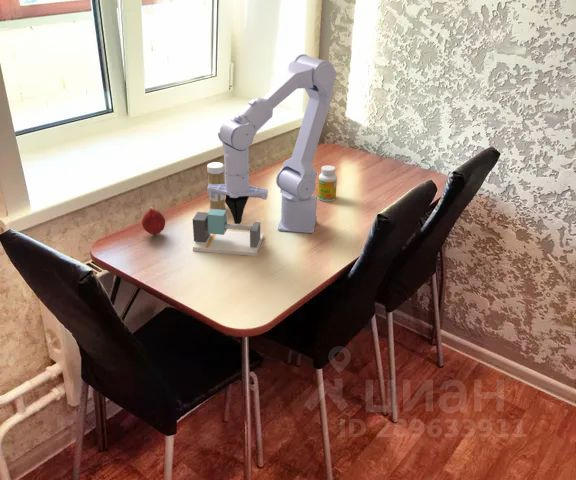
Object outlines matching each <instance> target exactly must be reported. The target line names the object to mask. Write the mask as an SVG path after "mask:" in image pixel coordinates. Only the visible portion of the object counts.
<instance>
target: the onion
mask: <svg viewBox="0 0 576 480" xmlns="http://www.w3.org/2000/svg"><path fill="white" fill-rule="evenodd" d="M141 225H142V228H143V230H144V231H145V232H147V233H148V234H150V235H152V236H157V235H158V234H160V233H161V232H162V231H163V230H164V228H165V226H166V218H165V216H164V215H163V214H162V213H161V212H160V210H157V209H155V208H154V207H153V206H150V207H149V210H147V211H146V213H144V214H143V216H142V219H141Z"/></svg>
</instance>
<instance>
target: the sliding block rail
mask: <svg viewBox="0 0 576 480" xmlns="http://www.w3.org/2000/svg"><path fill="white" fill-rule="evenodd" d="M208 213H209V212H205V211H204V212H203V211H197V212H196V213H195V215H194V216H193V218H192V229H193V230H192V231H193V242H195V243H194V244H193V246H192V251H194V252H203V253H205V252H206V253H214V254H216V253H217V254H225V255H239V256H246V257H247V256H248V257H257V255H258V253H259V251H260V248H261V245H262V243H263V241H264V237H265V235H264V233H261V222H260V221H253V223H252V225H246V224H245V225H244V224H235V223H227V224H224V228H226V229H228V230H226V232H225V234H224V235H219V234H208ZM235 230H236V231H235ZM238 230H239V231H238ZM240 230H241V231H240ZM247 231H249V232H247Z"/></svg>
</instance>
